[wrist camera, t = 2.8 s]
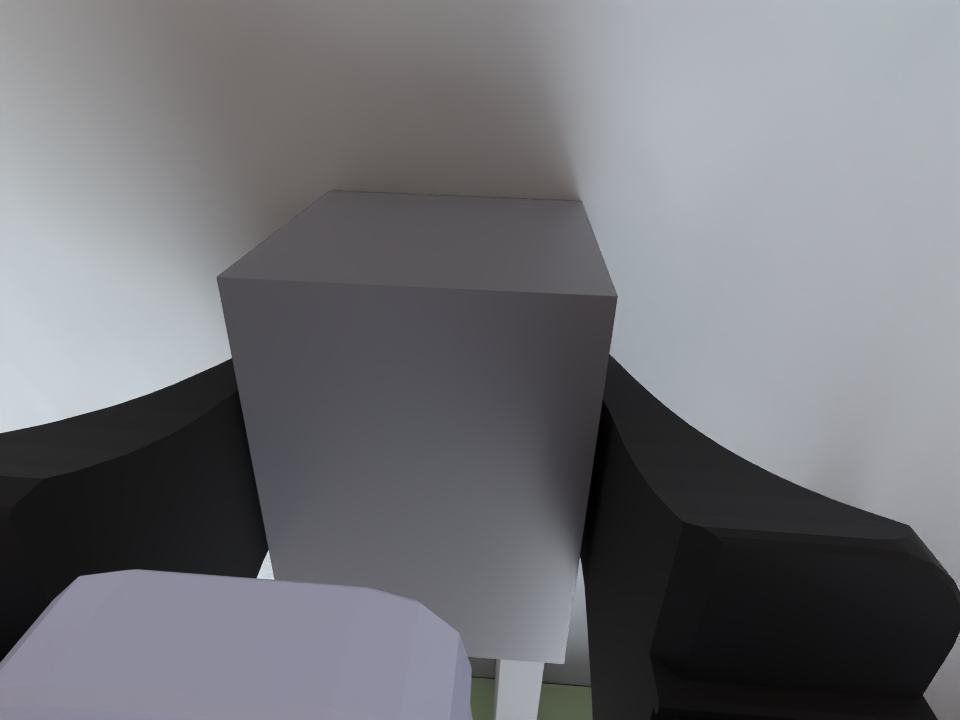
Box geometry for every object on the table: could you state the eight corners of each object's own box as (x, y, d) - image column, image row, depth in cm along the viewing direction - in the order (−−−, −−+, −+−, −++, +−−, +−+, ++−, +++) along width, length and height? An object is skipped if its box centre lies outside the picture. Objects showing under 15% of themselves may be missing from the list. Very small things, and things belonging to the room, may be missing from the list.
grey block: (581, 200, 12) (617, 296, 7) (551, 481, 15) (563, 663, 11) (329, 190, 12) (216, 276, 7) (355, 469, 15) (286, 643, 11)
